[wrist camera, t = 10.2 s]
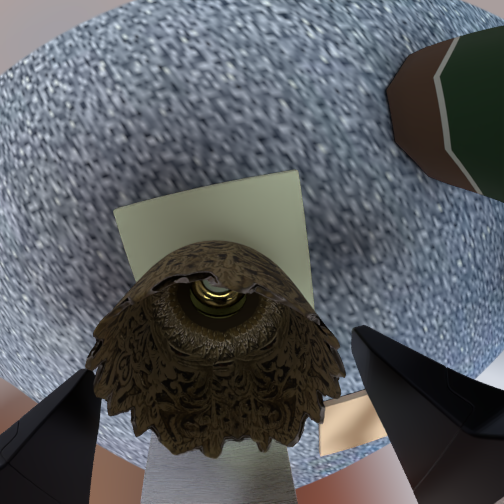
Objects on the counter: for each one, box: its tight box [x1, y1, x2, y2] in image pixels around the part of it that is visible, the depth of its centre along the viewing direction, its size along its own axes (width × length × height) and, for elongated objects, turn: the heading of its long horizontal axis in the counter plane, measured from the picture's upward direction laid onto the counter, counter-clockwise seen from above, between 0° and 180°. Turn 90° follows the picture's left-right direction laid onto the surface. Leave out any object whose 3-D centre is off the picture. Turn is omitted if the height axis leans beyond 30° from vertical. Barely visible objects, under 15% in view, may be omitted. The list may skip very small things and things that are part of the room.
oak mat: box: [319, 390, 387, 456], centre depth 21 cm, size 9×9×1 cm
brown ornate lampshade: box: [85, 240, 346, 459], centre depth 11 cm, size 8×7×8 cm
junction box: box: [141, 431, 298, 504], centre depth 15 cm, size 10×5×10 cm, turn 100°
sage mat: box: [113, 170, 314, 309], centre depth 15 cm, size 9×9×1 cm
